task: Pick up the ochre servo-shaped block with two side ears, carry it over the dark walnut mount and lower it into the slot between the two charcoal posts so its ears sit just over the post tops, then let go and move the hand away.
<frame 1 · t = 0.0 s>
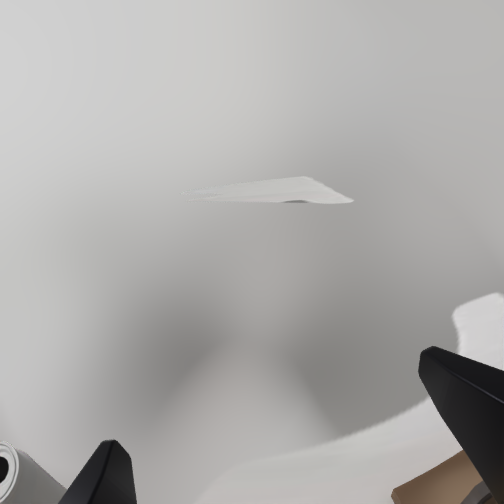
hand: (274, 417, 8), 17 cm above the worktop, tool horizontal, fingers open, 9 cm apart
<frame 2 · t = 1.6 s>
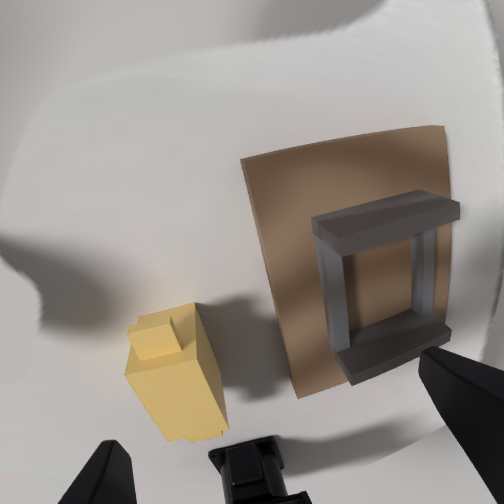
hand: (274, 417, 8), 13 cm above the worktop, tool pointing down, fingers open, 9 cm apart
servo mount: (366, 265, 22), on the worktop
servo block: (180, 345, 22), on the worktop
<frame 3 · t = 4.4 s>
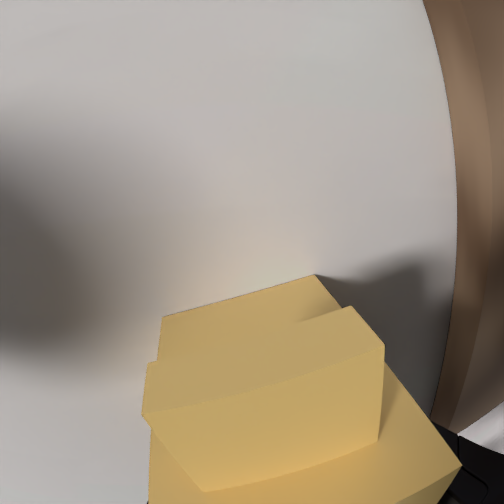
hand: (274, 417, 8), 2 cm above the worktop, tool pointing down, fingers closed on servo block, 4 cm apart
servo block: (262, 379, 9), on the worktop, touching gripper
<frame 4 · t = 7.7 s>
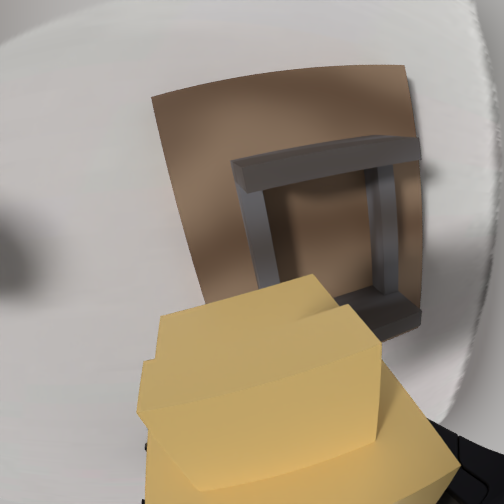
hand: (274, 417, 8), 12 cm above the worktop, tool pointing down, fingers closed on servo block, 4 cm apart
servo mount: (312, 228, 19), on the worktop
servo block: (261, 379, 9), point 10 cm above the worktop, touching gripper
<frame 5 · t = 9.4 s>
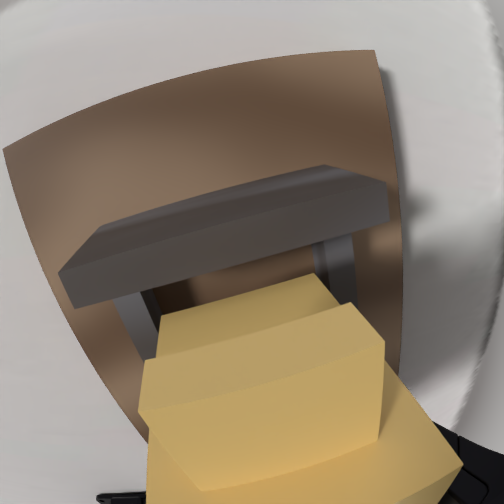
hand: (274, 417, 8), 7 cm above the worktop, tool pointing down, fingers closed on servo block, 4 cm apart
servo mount: (240, 299, 14), on the worktop
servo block: (262, 378, 9), point 5 cm above the worktop, touching gripper
when the fingers open (4 cm above the worktop, at t = 11.0 s): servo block stays where it is, resting on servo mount.
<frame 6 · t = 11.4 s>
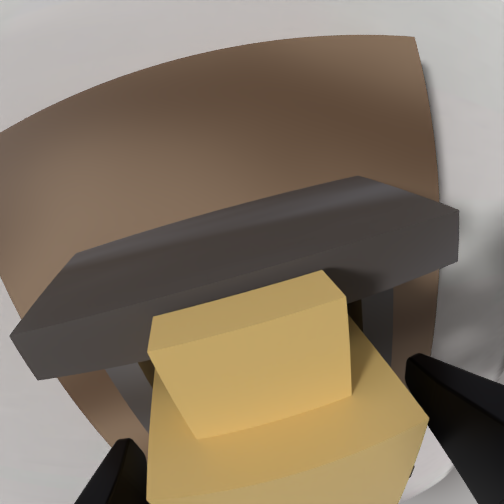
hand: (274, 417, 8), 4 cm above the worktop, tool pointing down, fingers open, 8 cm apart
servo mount: (250, 334, 11), on the worktop
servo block: (256, 359, 10), point 1 cm above the worktop, touching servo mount
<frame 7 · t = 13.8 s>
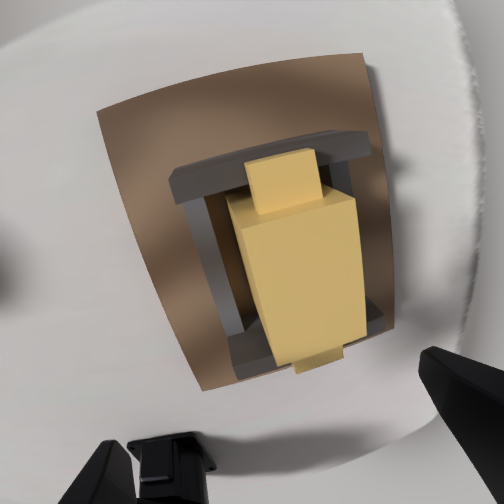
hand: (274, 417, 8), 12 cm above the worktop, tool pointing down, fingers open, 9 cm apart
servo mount: (270, 230, 18), on the worktop
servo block: (276, 238, 17), point 1 cm above the worktop, touching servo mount
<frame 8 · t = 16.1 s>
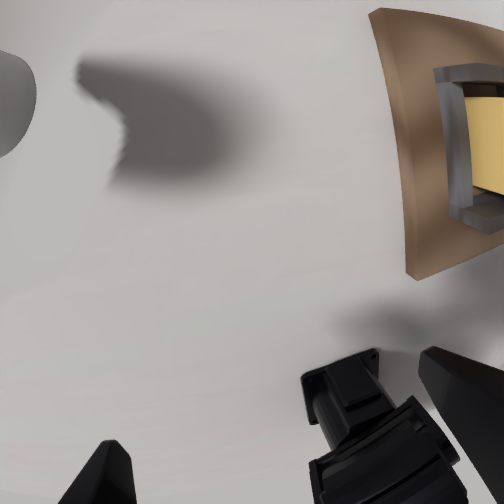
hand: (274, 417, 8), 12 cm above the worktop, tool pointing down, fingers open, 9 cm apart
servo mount: (466, 137, 19), on the worktop
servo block: (480, 138, 17), point 1 cm above the worktop, touching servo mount
beverage can: (1, 107, 13), on the worktop
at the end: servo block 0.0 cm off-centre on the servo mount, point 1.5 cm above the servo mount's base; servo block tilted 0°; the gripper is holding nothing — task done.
